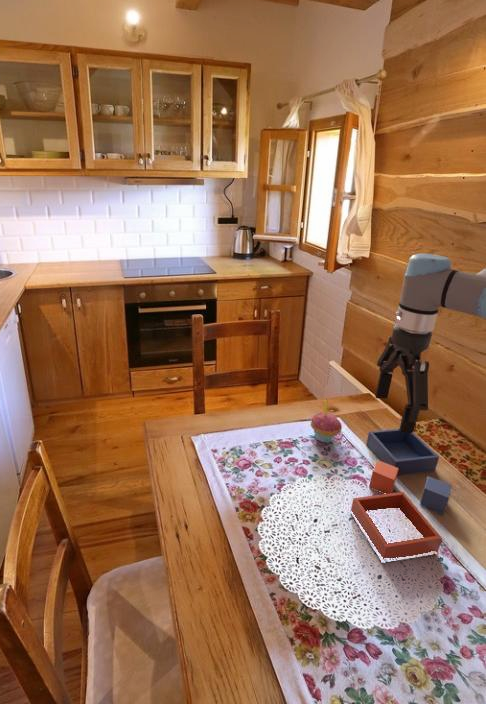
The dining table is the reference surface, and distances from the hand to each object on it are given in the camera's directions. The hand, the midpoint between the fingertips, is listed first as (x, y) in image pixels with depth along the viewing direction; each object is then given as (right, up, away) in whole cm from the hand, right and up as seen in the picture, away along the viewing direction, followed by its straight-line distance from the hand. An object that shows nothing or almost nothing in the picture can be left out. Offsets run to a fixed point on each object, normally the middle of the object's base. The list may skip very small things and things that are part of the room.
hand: (392, 413), depth 93 cm
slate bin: (+9, -16, +17) cm, 25 cm away
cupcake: (-10, -13, +24) cm, 29 cm away
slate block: (+10, -22, +2) cm, 24 cm away
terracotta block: (0, -19, +7) cm, 21 cm away
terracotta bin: (-3, -24, -6) cm, 25 cm away
